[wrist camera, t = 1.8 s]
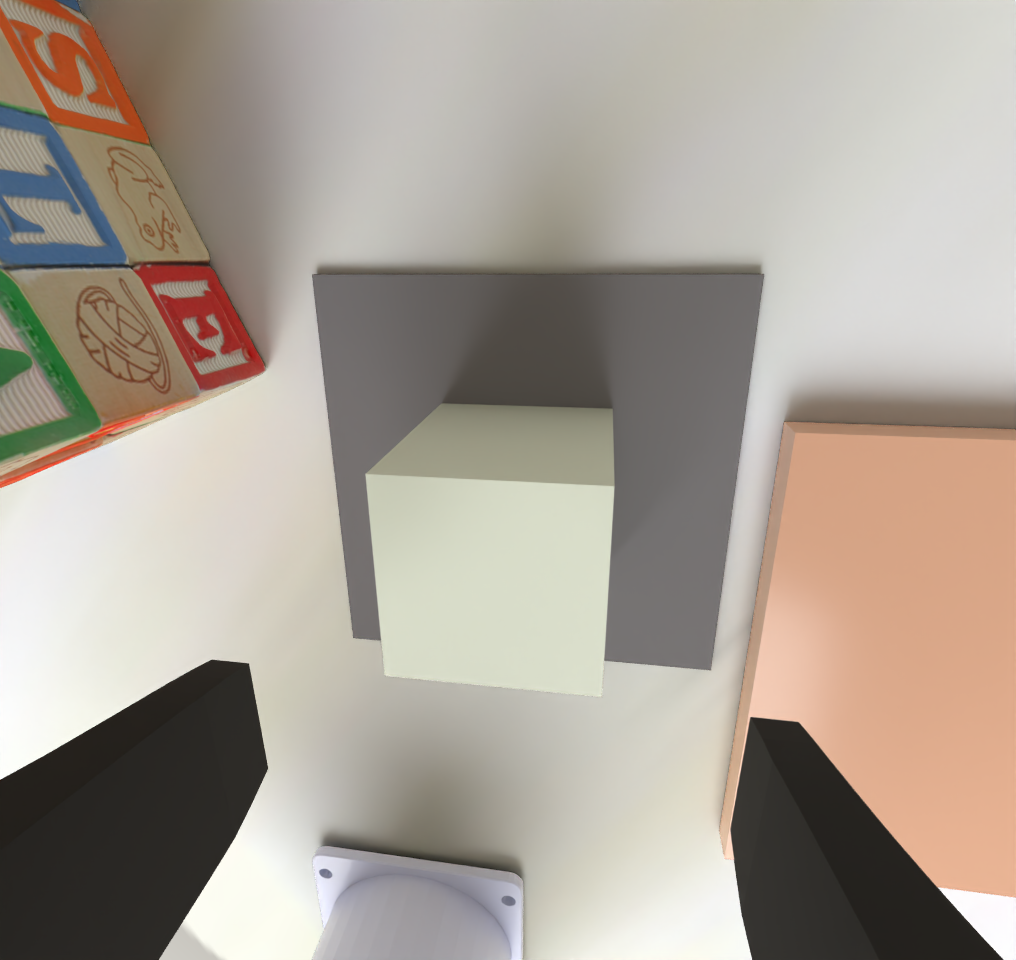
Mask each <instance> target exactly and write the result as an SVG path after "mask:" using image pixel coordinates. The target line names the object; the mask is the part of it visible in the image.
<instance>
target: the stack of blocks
mask: <svg viewBox="0 0 1016 960" xmlns="http://www.w3.org/2000/svg"><path fill="white" fill-rule="evenodd" d="M209 261H210V256H209V253H208V251H207V249H206V247H205V245H204V243H203V241H202V240H201V238H200V236H199V234H198V232H197V230H196V228H195V226H194V224H193V222H192V220H191V218H190V216H189V214H188V212H187V210H186V208H185V206H184V204H183V202H182V200H181V198H180V197H179V195H178V193H177V191H176V189H175V187H174V185H173V183H172V181H171V179H170V177H169V175H168V173H167V171H166V169H165V168H164V166H163V164H162V162H161V161H160V159H159V157H158V155H157V154H156V153H155V151H154V150H153V149H152V147H151V146H150V142H149V138H148V135H147V133H146V131H145V129H144V127H143V125H142V123H141V121H140V119H139V117H138V115H137V113H136V111H135V109H134V107H133V105H132V103H131V101H130V99H129V97H128V95H127V93H126V91H125V89H124V87H123V85H122V83H121V81H120V79H119V77H118V75H117V73H116V71H115V69H114V67H113V65H112V63H111V61H110V59H109V57H108V55H107V54H106V52H105V50H104V48H103V46H102V44H101V42H100V40H99V39H98V37H97V34H96V32H95V30H94V28H93V26H92V24H91V23H90V21H89V20H88V19H87V18H85V17H84V16H83V15H82V14H81V11H80V8H79V5H78V3H77V1H76V0H0V488H2V487H4V486H7V485H10V484H12V483H15V482H17V481H20V480H22V479H24V478H27V477H29V476H31V475H33V474H35V473H38V472H40V471H42V470H45V469H47V468H49V467H52V466H54V465H57V464H59V463H62V462H64V461H66V460H69V459H71V458H74V457H76V456H79V455H81V454H84V453H86V452H89V451H91V450H93V449H96V448H98V447H101V446H103V445H106V444H108V443H111V442H113V441H115V440H117V439H120V438H122V437H124V436H126V435H128V434H131V433H133V432H135V431H137V430H140V429H142V428H144V427H146V426H149V425H151V424H153V423H155V422H157V421H160V420H162V419H164V418H166V417H169V416H171V415H173V414H175V413H177V412H180V411H183V410H186V409H188V408H191V407H193V406H196V405H198V404H200V403H202V402H204V401H207V400H209V399H211V398H213V397H216V396H218V395H220V394H222V393H225V392H227V391H229V390H231V389H233V388H235V387H237V386H240V385H242V384H244V383H246V382H248V381H250V380H251V379H253V378H255V377H257V376H259V375H261V374H263V373H264V371H265V370H266V368H265V366H264V364H263V361H262V359H261V358H260V356H259V354H258V352H257V351H256V349H255V347H254V345H253V343H252V341H251V339H250V337H249V336H248V334H247V332H246V330H245V328H244V326H243V325H242V323H241V321H240V319H239V317H238V315H237V313H236V311H235V310H234V308H233V306H232V304H231V302H230V300H229V298H228V296H227V294H226V292H225V290H224V289H223V287H222V286H221V284H220V282H219V280H218V277H217V275H216V273H215V271H214V270H213V269H212V268H211V267H210V266H209V264H208V263H209Z"/></svg>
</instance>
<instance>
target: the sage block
mask: <svg viewBox="0 0 1016 960" xmlns="http://www.w3.org/2000/svg"><path fill="white" fill-rule="evenodd" d="M365 475H366V486H367V496H368V507H369V517H370V528H371V538H372V549H373V559H374V570H375V581H376V591H377V602H378V612H379V623H380V633H381V644H382V654H383V665H384V675H385V676H390V677H400V678H410V679H420V680H430V681H440V682H450V683H461V684H471V685H481V686H491V687H501V688H511V689H521V690H532V691H542V692H552V693H562V694H572V695H582V696H592V697H602V689H603V672H604V655H605V638H606V621H607V605H608V588H609V571H610V554H611V537H612V521H613V504H614V487H615V485H614V442H613V409H608V408H576V407H543V406H511V405H479V404H446V403H441V404H440V405H439V406H438V407H437V408H436V409H435V410H434V411H433V412H432V413H431V414H429V415H428V416H427V417H426V418H425V419H424V420H423V421H422V422H421V423H420V424H419V425H418V426H417V427H415V428H414V429H413V430H412V431H411V432H410V433H409V434H408V435H407V436H406V437H405V438H404V439H403V440H402V441H400V442H399V443H398V444H397V445H396V446H395V447H394V448H393V449H392V450H391V451H390V452H389V453H388V454H386V455H385V456H384V457H383V458H382V459H381V460H380V461H379V462H378V463H377V464H376V465H375V466H374V467H372V468H371V469H370V470H369V471H368V472H367V473H366V474H365Z"/></svg>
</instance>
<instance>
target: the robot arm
mask: <svg viewBox="0 0 1016 960" xmlns="http://www.w3.org/2000/svg"><path fill="white" fill-rule="evenodd" d="M267 770H268V765H267V760H266V754H265V749H264V743H263V738H262V732H261V727H260V721H259V716H258V710H257V705H256V700H255V694H254V689H253V683H252V678H251V672H250V667H249V664H248V663H238V662H229V661H219V660H210V661H208V662H206V663H204V664H202V665H201V666H199V667H197V668H195V669H193V670H191V671H189V672H187V673H186V674H184V675H182V676H180V677H178V678H177V679H175V680H173V681H171V682H170V683H168V684H166V685H165V686H163V687H161V688H159V689H158V690H156V691H154V692H152V693H151V694H149V695H147V696H146V697H144V698H142V699H141V700H139V701H137V702H135V703H134V704H132V705H130V706H129V707H127V708H125V709H124V710H122V711H120V712H119V713H117V714H115V715H113V716H112V717H110V718H108V719H107V720H105V721H103V722H101V723H100V724H98V725H96V726H95V727H93V728H91V729H89V730H88V731H86V732H84V733H83V734H81V735H79V736H77V737H76V738H74V739H72V740H71V741H69V742H67V743H65V744H64V745H62V746H60V747H59V748H57V749H55V750H53V751H52V752H50V753H48V754H46V755H45V756H43V757H41V758H39V759H37V760H36V761H34V762H32V763H30V764H28V765H26V766H25V767H23V768H21V769H19V770H17V771H16V772H14V773H12V774H10V775H8V776H6V777H5V778H3V779H1V780H0V960H159V958H160V957H161V955H162V954H163V952H164V950H165V949H166V947H167V946H168V944H169V942H170V941H171V939H172V938H173V936H174V935H175V933H176V932H177V930H178V928H179V927H180V925H181V924H182V922H183V920H184V919H185V917H186V916H187V914H188V913H189V911H190V909H191V908H192V906H193V905H194V903H195V902H196V900H197V898H198V897H199V895H200V894H201V892H202V890H203V889H204V887H205V886H206V884H207V882H208V881H209V879H210V878H211V876H212V874H213V873H214V871H215V869H216V868H217V866H218V865H219V863H220V861H221V860H222V858H223V857H224V855H225V853H226V852H227V850H228V848H229V847H230V845H231V843H232V842H233V840H234V838H235V837H236V835H237V833H238V831H239V829H240V827H241V825H242V823H243V821H244V819H245V817H246V815H247V813H248V811H249V809H250V807H251V805H252V802H253V800H254V798H255V796H256V794H257V791H258V789H259V787H260V785H261V783H262V781H263V778H264V776H265V774H266V772H267ZM730 832H731V840H732V848H733V855H734V863H735V871H736V878H737V885H738V892H739V899H740V906H741V913H742V918H743V922H744V926H745V931H746V935H747V939H748V943H749V948H750V952H751V956H752V960H1003V959H1002V958H1001V957H1000V956H999V954H998V953H997V952H996V951H995V950H994V949H993V948H992V947H991V946H990V945H989V944H988V943H987V942H986V941H985V940H984V939H983V937H982V936H981V935H980V934H979V933H978V932H977V931H976V930H975V929H974V928H973V927H972V925H971V924H970V923H969V922H968V921H967V920H966V919H965V918H964V917H963V915H962V914H961V913H960V912H959V911H958V910H957V909H956V908H955V907H954V906H953V904H952V903H951V902H950V901H949V900H948V899H947V898H946V897H945V895H944V894H943V893H942V892H941V891H940V890H939V889H938V887H937V886H936V885H935V884H934V883H933V882H932V881H931V879H930V878H929V877H928V876H927V875H926V874H925V873H924V871H923V870H922V869H921V868H920V867H919V866H918V864H917V863H916V862H915V861H914V860H913V859H912V858H911V856H910V855H909V854H908V853H907V852H906V851H905V850H904V848H903V847H902V846H901V845H900V844H899V843H898V842H897V840H896V839H895V838H894V837H893V836H892V834H891V833H890V832H889V831H888V830H887V828H886V827H885V826H884V825H883V824H882V823H881V821H880V820H879V819H878V818H877V817H876V815H875V814H874V813H873V812H872V811H871V809H870V808H869V807H868V806H867V804H866V803H865V802H864V801H863V800H862V798H861V797H860V796H859V795H858V794H857V792H856V791H855V790H854V789H853V787H852V786H851V785H850V784H849V783H848V781H847V780H846V779H845V778H844V776H843V775H842V774H841V773H840V771H839V770H838V769H837V768H836V767H835V765H834V764H833V763H832V762H831V760H830V759H829V758H828V757H827V755H826V754H825V753H824V752H823V750H822V749H821V748H820V747H819V745H818V744H817V743H816V742H815V741H814V739H813V738H812V737H811V736H810V734H809V733H808V732H807V731H806V730H805V729H804V727H803V726H802V725H801V724H800V723H799V722H795V721H786V720H776V719H767V718H757V717H750V721H749V727H748V733H747V738H746V744H745V749H744V755H743V760H742V766H741V772H740V777H739V783H738V788H737V794H736V800H735V805H734V811H733V816H732V822H731V827H730ZM312 862H313V868H314V874H315V880H316V886H317V892H318V898H319V904H320V910H321V916H322V922H323V928H324V931H323V933H322V935H321V938H320V940H319V943H318V945H317V947H316V950H315V952H314V955H313V957H312V959H311V960H523V881H522V879H521V878H520V877H519V876H518V875H517V874H515V873H512V872H507V871H500V870H493V869H486V868H479V867H472V866H465V865H458V864H451V863H444V862H437V861H430V860H423V859H416V858H409V857H402V856H395V855H388V854H381V853H374V852H367V851H360V850H353V849H346V848H339V847H332V846H321V847H319V848H318V849H317V850H316V852H315V854H314V856H313V859H312Z"/></svg>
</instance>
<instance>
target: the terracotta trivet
mask: <svg viewBox="0 0 1016 960" xmlns="http://www.w3.org/2000/svg"><path fill="white" fill-rule="evenodd" d="M750 717H757V718H767V719H776V720H786V721H795V722H799V723H800V724H801V725H802V726H803V727H804V729H805V730H806V731H807V732H808V733H809V734H810V736H811V737H812V738H813V739H814V741H815V742H816V743H817V744H818V745H819V747H820V748H821V749H822V750H823V752H824V753H825V754H826V755H827V757H828V758H829V759H830V760H831V762H832V763H833V764H834V765H835V767H836V768H837V769H838V770H839V771H840V773H841V774H842V775H843V776H844V778H845V779H846V780H847V781H848V783H849V784H850V785H851V786H852V787H853V789H854V790H855V791H856V792H857V794H858V795H859V796H860V797H861V798H862V800H863V801H864V802H865V803H866V804H867V806H868V807H869V808H870V809H871V811H872V812H873V813H874V814H875V815H876V817H877V818H878V819H879V820H880V821H881V823H882V824H883V825H884V826H885V827H886V828H887V830H888V831H889V832H890V833H891V834H892V836H893V837H894V838H895V839H896V840H897V842H898V843H899V844H900V845H901V846H902V847H903V848H904V850H905V851H906V852H907V853H908V854H909V855H910V856H911V858H912V859H913V860H914V861H915V862H916V863H917V864H918V866H919V867H920V868H921V869H922V870H923V871H924V873H925V874H926V875H927V876H928V877H929V878H930V879H931V881H932V882H933V883H934V884H935V885H936V886H937V887H941V888H948V889H956V890H963V891H971V892H978V893H986V894H994V895H1001V896H1009V897H1016V429H996V428H966V427H935V426H904V425H874V424H843V423H812V422H784V426H783V432H782V439H781V445H780V451H779V458H778V464H777V470H776V476H775V483H774V489H773V495H772V502H771V508H770V514H769V521H768V527H767V533H766V539H765V546H764V552H763V558H762V565H761V571H760V577H759V584H758V590H757V596H756V602H755V609H754V615H753V621H752V628H751V634H750V640H749V647H748V653H747V659H746V665H745V672H744V678H743V684H742V691H741V697H740V703H739V710H738V716H737V722H736V728H735V735H734V741H733V747H732V754H731V760H730V766H729V773H728V779H727V785H726V791H725V798H724V804H723V810H722V817H721V823H720V829H719V832H720V838H721V843H722V848H723V854H724V859H730V860H734V855H733V848H732V840H731V832H730V827H731V822H732V816H733V811H734V805H735V800H736V794H737V788H738V783H739V777H740V772H741V766H742V760H743V755H744V749H745V744H746V738H747V733H748V727H749V721H750Z"/></svg>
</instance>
